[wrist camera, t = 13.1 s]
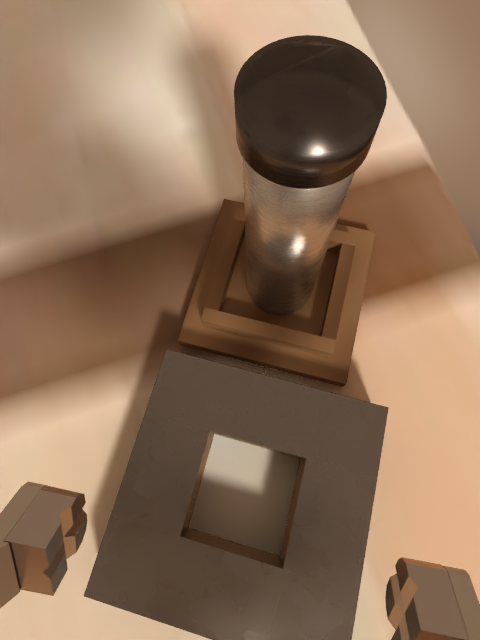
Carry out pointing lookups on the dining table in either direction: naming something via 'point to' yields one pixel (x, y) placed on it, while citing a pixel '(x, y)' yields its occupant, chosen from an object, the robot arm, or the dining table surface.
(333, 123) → the lidded glass canister
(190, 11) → the dining table surface
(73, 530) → the robot arm
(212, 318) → the square wooden tray
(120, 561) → the socket block
